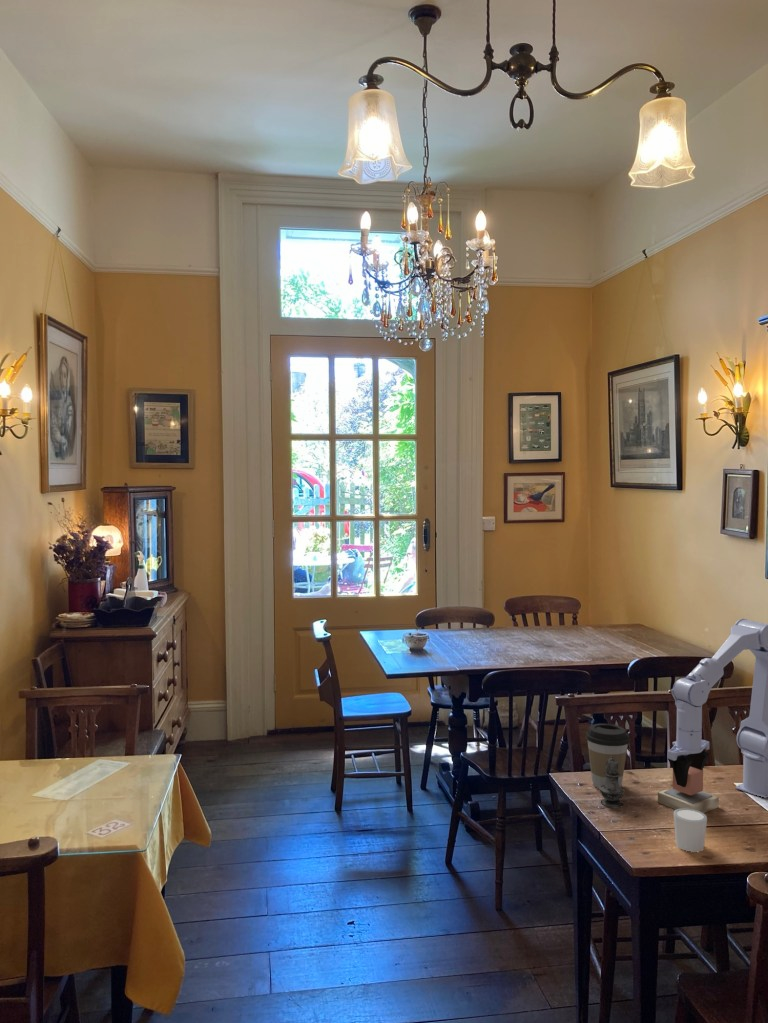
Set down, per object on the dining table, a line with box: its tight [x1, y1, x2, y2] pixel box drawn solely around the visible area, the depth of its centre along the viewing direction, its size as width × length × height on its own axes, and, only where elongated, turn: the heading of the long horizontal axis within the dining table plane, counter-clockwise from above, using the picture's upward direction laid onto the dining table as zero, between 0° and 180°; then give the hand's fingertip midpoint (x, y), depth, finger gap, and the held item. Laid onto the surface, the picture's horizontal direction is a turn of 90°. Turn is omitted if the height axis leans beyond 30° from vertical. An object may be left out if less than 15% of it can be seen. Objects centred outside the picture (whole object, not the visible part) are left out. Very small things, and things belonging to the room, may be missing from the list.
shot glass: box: [673, 809, 708, 853], centre depth 162 cm, size 7×7×7 cm
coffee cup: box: [584, 723, 631, 790], centre depth 195 cm, size 11×11×15 cm
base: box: [657, 786, 720, 814], centre depth 183 cm, size 10×10×3 cm
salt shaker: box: [599, 755, 625, 809], centre depth 184 cm, size 6×6×12 cm
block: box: [672, 766, 704, 795], centre depth 183 cm, size 5×5×5 cm
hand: (688, 783), depth 183 cm, fingers closed on block, 5 cm apart
